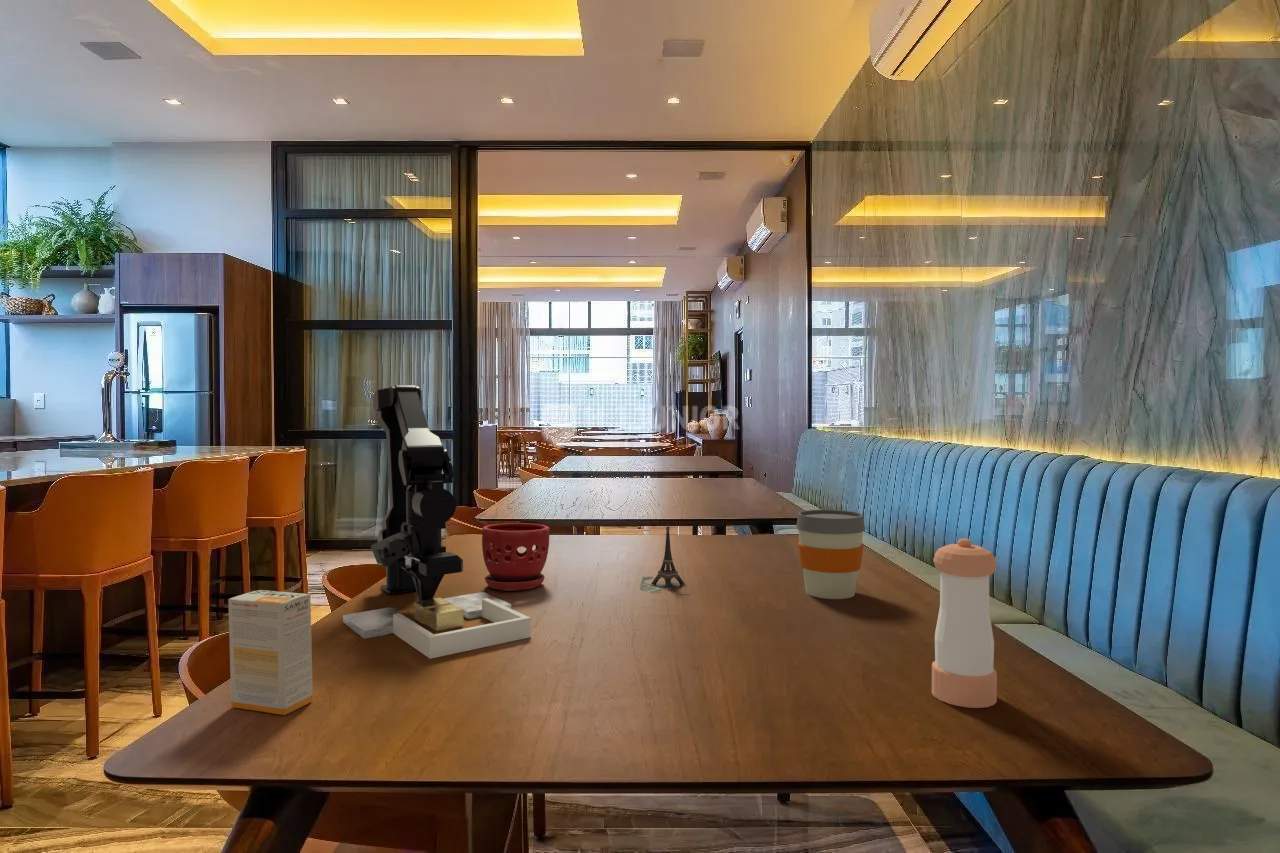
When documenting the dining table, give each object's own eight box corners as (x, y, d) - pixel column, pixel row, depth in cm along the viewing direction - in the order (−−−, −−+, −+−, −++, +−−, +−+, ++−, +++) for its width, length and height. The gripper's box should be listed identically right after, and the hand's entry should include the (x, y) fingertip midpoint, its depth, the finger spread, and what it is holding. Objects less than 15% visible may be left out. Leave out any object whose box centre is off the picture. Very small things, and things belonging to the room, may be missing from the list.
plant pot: (544, 594, 140) (544, 531, 140) (475, 594, 141) (475, 531, 140) (553, 578, 153) (553, 520, 153) (490, 578, 154) (489, 520, 153)
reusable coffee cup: (872, 590, 142) (873, 512, 142) (853, 605, 132) (853, 520, 131) (809, 582, 149) (809, 507, 149) (786, 595, 138) (786, 515, 138)
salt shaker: (992, 713, 85) (994, 546, 85) (925, 700, 89) (926, 540, 88) (1000, 692, 91) (1001, 537, 91) (937, 681, 95) (938, 532, 95)
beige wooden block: (426, 624, 121) (426, 607, 121) (452, 620, 124) (452, 603, 124) (436, 631, 117) (436, 613, 117) (463, 626, 120) (463, 609, 120)
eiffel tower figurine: (641, 579, 155) (641, 515, 154) (690, 579, 154) (690, 515, 154) (638, 597, 140) (637, 526, 140) (691, 598, 139) (691, 527, 139)
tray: (393, 633, 116) (393, 614, 116) (487, 615, 126) (487, 598, 126) (430, 658, 104) (429, 637, 104) (530, 637, 114) (530, 617, 114)
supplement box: (315, 701, 89) (313, 593, 89) (283, 717, 85) (282, 603, 84) (261, 693, 92) (259, 587, 92) (228, 708, 87) (226, 597, 87)
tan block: (414, 618, 124) (414, 601, 124) (440, 613, 127) (439, 597, 127) (423, 624, 121) (423, 607, 121) (450, 619, 123) (450, 602, 123)
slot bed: (343, 622, 122) (343, 615, 122) (483, 598, 137) (483, 591, 137) (364, 638, 113) (363, 630, 113) (511, 611, 128) (511, 604, 128)
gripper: (358, 514, 129) (359, 604, 129) (395, 527, 114) (397, 628, 114) (421, 509, 136) (422, 594, 136) (464, 521, 121) (464, 616, 121)
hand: (425, 607), depth 127 cm, fingers closed
